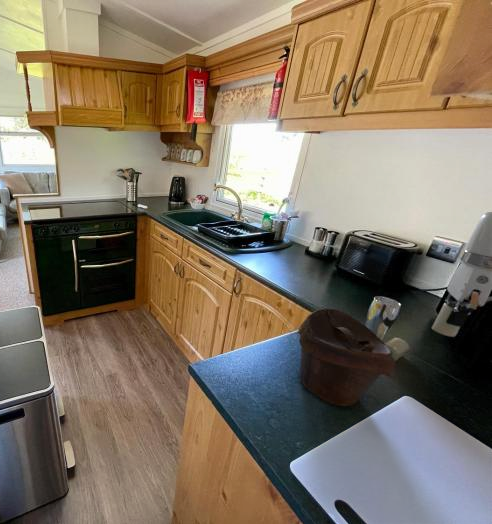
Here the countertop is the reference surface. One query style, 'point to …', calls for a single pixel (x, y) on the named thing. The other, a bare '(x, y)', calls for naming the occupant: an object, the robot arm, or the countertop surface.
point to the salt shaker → (397, 347)
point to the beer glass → (382, 315)
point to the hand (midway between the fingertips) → (449, 319)
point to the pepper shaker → (441, 319)
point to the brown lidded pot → (341, 356)
